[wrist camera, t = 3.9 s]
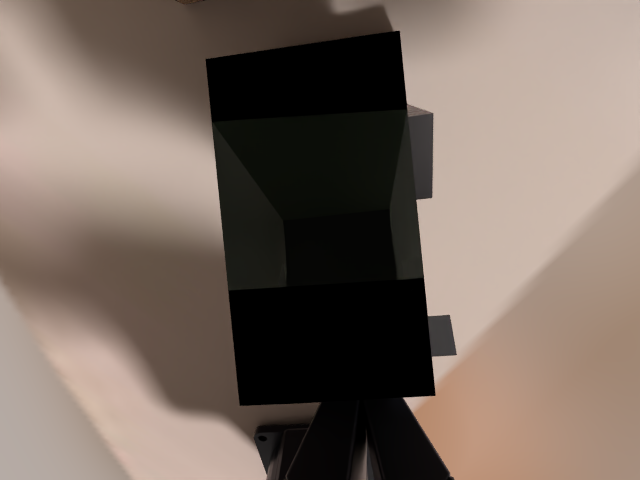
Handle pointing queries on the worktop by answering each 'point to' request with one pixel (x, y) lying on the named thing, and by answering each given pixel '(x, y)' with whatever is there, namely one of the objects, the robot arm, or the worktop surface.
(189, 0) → the ramp
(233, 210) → the lever
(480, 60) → the worktop surface
